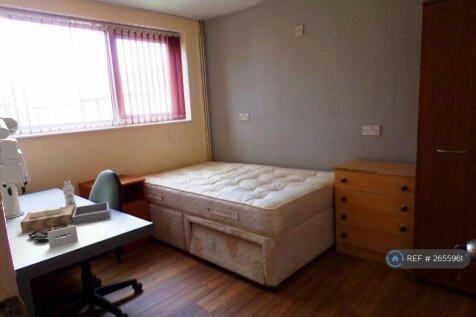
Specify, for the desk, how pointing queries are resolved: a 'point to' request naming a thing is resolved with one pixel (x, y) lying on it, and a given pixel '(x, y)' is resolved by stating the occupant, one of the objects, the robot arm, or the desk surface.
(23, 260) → the desk surface
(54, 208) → the tile sage
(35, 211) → the tile cream
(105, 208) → the bin
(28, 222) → the wooden block
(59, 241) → the cassette
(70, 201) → the plastic bottle
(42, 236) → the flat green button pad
